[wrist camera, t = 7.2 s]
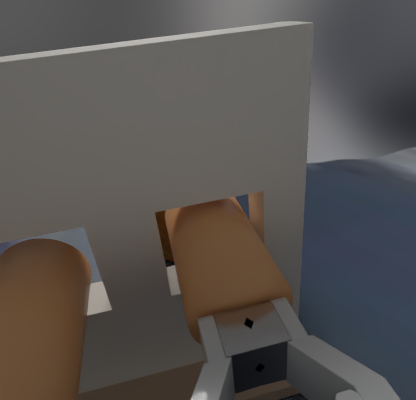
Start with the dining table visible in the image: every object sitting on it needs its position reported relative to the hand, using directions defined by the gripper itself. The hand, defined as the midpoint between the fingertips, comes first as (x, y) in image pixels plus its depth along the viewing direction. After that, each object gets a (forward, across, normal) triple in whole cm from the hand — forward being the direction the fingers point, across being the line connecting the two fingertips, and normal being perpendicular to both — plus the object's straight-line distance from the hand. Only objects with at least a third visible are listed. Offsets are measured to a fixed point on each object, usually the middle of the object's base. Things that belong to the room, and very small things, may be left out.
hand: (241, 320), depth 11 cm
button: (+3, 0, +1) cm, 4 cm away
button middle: (+1, +7, +2) cm, 7 cm away
